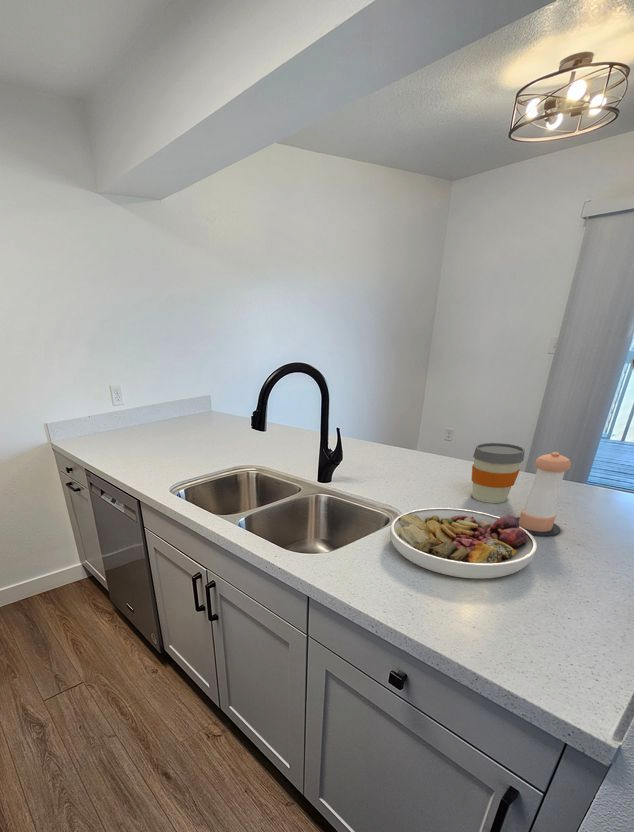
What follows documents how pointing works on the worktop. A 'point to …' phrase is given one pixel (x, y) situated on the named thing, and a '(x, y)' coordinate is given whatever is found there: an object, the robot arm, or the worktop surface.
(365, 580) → the worktop surface
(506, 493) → the reusable coffee cup
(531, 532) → the coaster
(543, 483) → the salt shaker
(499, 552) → the bowl
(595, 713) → the worktop surface
